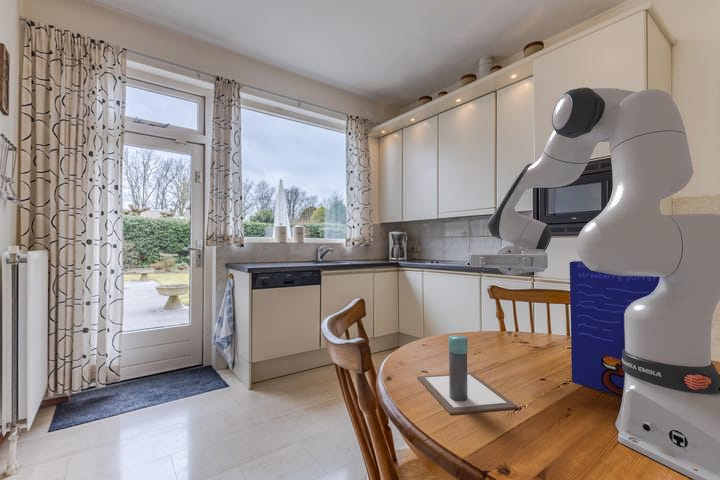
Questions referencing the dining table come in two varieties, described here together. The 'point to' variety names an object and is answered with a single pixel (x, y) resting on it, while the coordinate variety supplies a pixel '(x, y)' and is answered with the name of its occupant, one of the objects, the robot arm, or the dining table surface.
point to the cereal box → (601, 324)
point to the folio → (478, 395)
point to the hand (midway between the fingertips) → (501, 261)
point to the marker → (458, 368)
